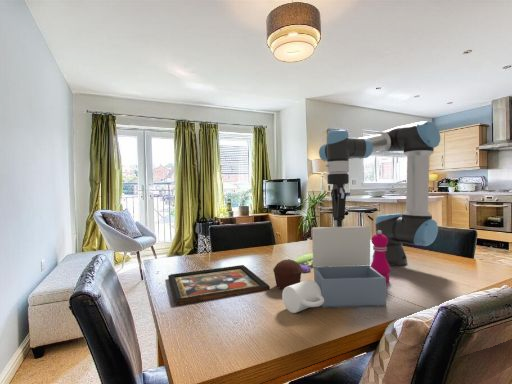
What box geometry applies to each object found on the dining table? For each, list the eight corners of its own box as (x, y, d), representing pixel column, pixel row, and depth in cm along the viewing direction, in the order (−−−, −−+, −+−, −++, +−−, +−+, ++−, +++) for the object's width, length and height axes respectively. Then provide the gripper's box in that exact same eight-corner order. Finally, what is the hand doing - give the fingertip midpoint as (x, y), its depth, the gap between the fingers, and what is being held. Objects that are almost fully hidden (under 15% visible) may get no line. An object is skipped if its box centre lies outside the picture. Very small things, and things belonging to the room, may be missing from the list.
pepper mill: (389, 277, 118) (388, 228, 117) (391, 283, 111) (390, 231, 110) (370, 276, 120) (369, 228, 119) (371, 282, 113) (370, 231, 112)
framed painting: (178, 311, 94) (177, 303, 93) (159, 281, 125) (159, 275, 125) (278, 289, 111) (277, 282, 111) (240, 268, 142) (240, 262, 142)
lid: (369, 265, 105) (368, 264, 106) (370, 226, 103) (369, 225, 104) (313, 266, 106) (312, 265, 106) (312, 228, 104) (312, 227, 105)
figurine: (348, 268, 133) (348, 256, 133) (295, 275, 126) (294, 262, 126) (327, 258, 151) (327, 248, 151) (279, 264, 144) (279, 253, 144)
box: (369, 289, 105) (369, 265, 105) (386, 306, 91) (385, 278, 91) (314, 291, 106) (313, 267, 106) (322, 307, 92) (321, 279, 92)
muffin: (295, 294, 104) (294, 266, 104) (268, 289, 110) (267, 263, 110) (307, 283, 114) (306, 258, 114) (282, 279, 120) (281, 255, 120)
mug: (282, 308, 93) (281, 283, 93) (304, 300, 99) (303, 276, 98) (309, 322, 83) (309, 294, 83) (332, 312, 89) (331, 286, 89)
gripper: (323, 174, 113) (324, 234, 113) (331, 172, 100) (332, 241, 100) (343, 173, 112) (344, 234, 113) (353, 172, 99) (354, 240, 100)
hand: (338, 237), depth 107 cm, fingers closed
